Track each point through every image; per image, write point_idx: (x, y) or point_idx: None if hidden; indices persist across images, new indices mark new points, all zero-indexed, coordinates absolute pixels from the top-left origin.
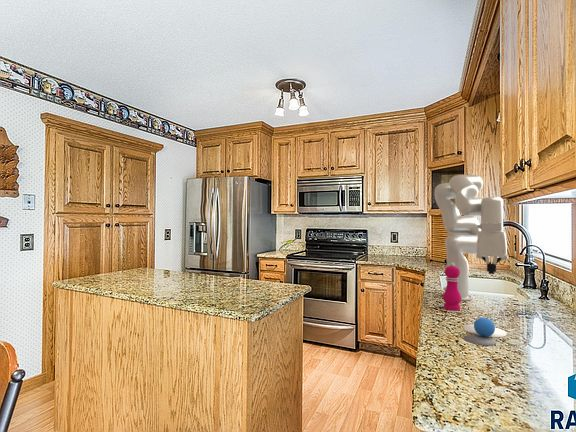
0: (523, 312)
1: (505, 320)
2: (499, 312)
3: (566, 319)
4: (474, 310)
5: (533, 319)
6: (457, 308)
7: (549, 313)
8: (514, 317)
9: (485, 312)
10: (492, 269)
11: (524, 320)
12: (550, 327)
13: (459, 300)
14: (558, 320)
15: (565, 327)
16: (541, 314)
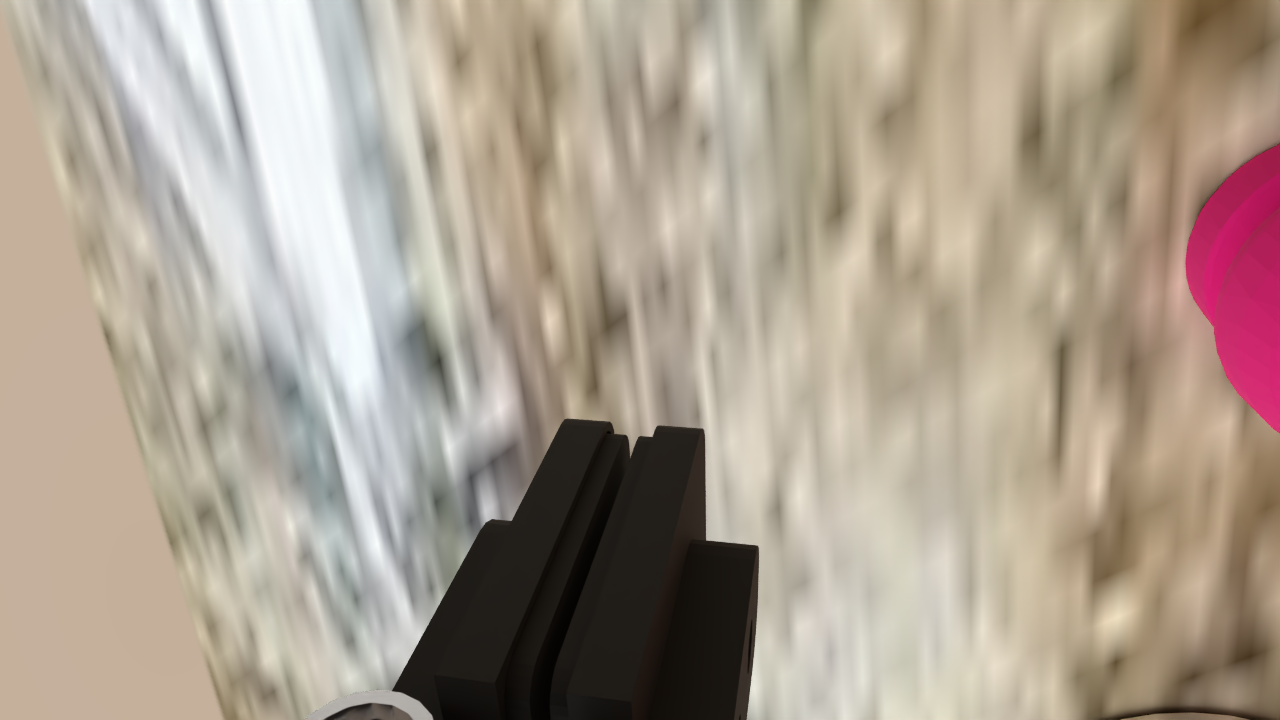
0: None
1: (587, 44)
2: (693, 407)
3: (179, 483)
4: (977, 332)
5: (367, 309)
6: (1244, 179)
7: (323, 613)
8: (528, 274)
9: (840, 310)
10: (549, 509)
11: (423, 203)
12: (173, 66)
13: (1265, 235)
14: (209, 410)
15: (93, 174)
16: (361, 546)
